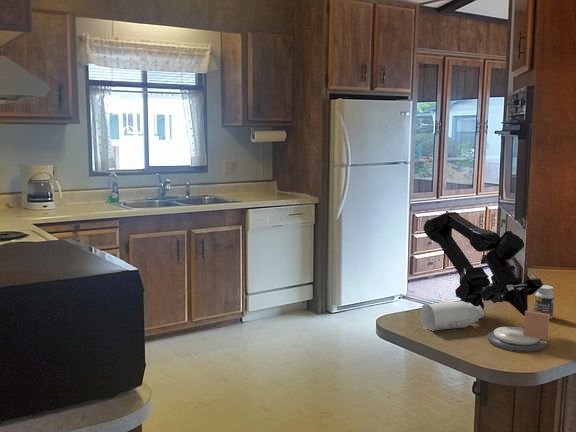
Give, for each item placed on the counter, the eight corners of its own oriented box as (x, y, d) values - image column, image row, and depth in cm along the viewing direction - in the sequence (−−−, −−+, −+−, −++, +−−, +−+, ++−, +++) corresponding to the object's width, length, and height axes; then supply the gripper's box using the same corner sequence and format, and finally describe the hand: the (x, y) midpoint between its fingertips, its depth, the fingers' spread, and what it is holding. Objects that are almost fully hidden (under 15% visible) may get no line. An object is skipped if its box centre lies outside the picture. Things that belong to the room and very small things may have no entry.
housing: (494, 351, 165) (495, 346, 165) (483, 332, 180) (483, 328, 179) (552, 353, 163) (553, 348, 163) (536, 335, 178) (536, 330, 178)
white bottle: (488, 329, 184) (490, 303, 182) (433, 335, 178) (434, 308, 177) (473, 321, 191) (474, 296, 190) (419, 326, 185) (420, 300, 184)
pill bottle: (532, 318, 194) (534, 287, 193) (534, 313, 200) (536, 283, 198) (552, 320, 192) (554, 289, 190) (553, 316, 197) (555, 285, 196)
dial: (488, 339, 170) (490, 311, 169) (500, 328, 180) (502, 301, 178) (542, 349, 162) (544, 320, 161) (551, 337, 172) (553, 309, 171)
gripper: (510, 279, 192) (534, 324, 183) (461, 285, 185) (484, 332, 176) (530, 260, 184) (557, 306, 175) (481, 265, 176) (506, 313, 168)
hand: (525, 315), depth 174 cm, fingers closed
